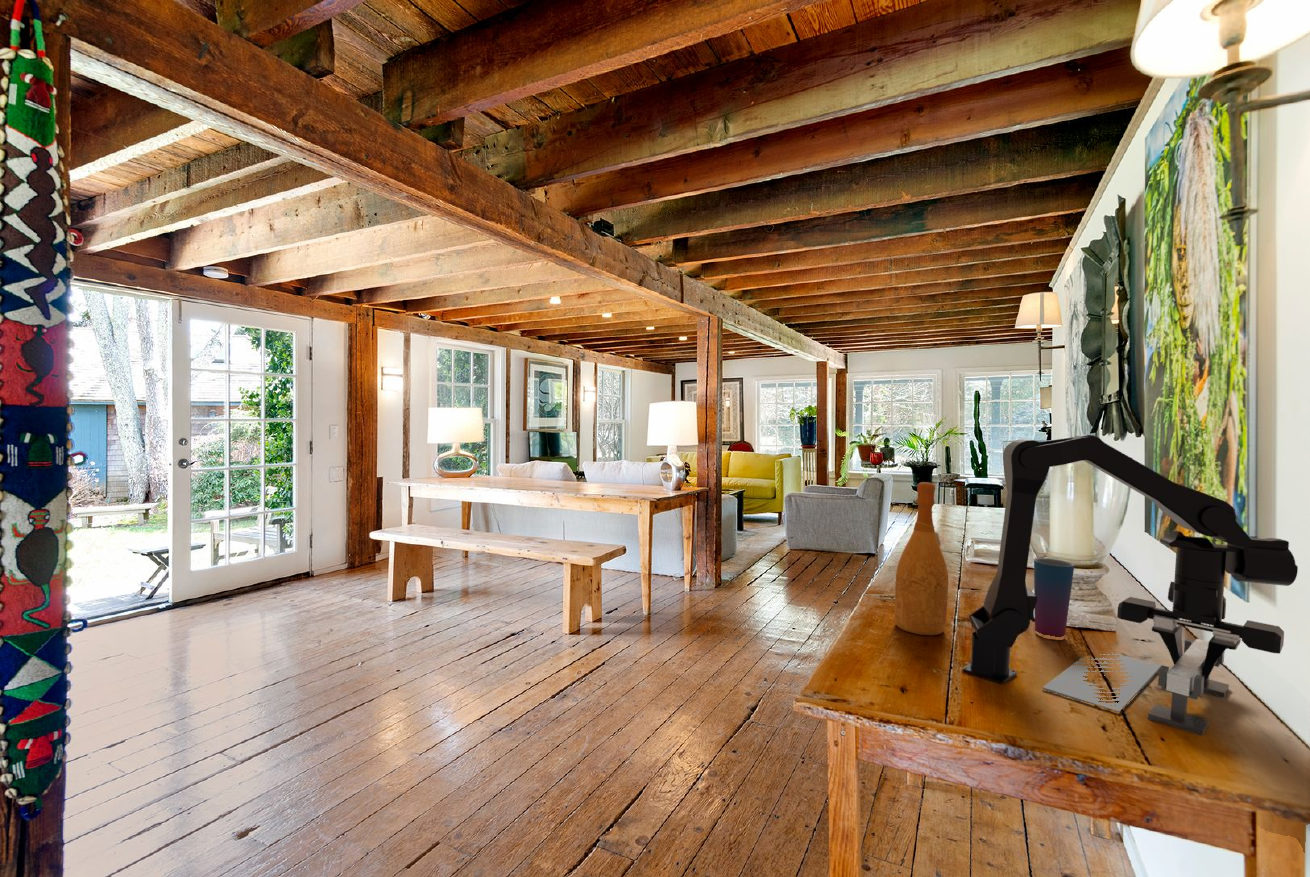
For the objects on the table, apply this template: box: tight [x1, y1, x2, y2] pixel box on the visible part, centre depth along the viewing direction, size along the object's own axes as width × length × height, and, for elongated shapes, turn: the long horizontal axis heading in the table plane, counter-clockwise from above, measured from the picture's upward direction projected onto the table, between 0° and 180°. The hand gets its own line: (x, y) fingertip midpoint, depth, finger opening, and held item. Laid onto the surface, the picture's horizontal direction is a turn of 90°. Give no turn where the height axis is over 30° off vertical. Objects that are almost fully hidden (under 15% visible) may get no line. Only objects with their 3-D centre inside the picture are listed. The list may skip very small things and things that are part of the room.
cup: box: [1033, 557, 1075, 637], centre depth 124 cm, size 7×7×15 cm
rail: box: [1166, 638, 1210, 696], centre depth 95 cm, size 23×2×2 cm, turn 131°
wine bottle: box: [894, 481, 949, 636], centre depth 125 cm, size 10×10×30 cm
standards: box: [1147, 637, 1230, 736], centre depth 95 cm, size 24×6×7 cm, turn 131°
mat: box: [1042, 652, 1162, 712], centre depth 104 cm, size 28×10×1 cm, turn 131°
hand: (1192, 677), depth 95 cm, fingers closed on rail, 2 cm apart
